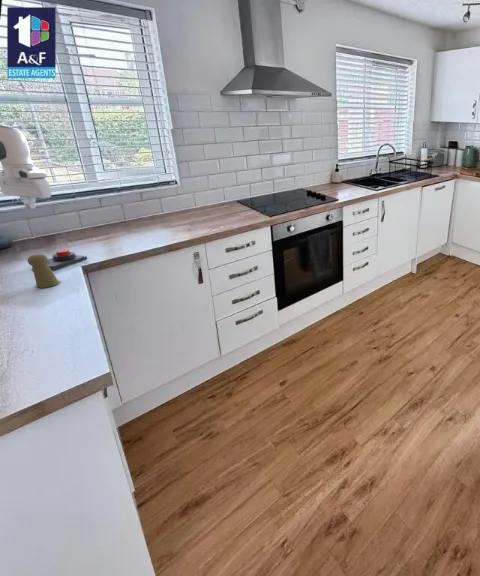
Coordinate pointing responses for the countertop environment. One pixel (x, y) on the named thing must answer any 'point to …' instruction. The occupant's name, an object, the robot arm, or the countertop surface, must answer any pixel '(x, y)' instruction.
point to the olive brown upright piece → (42, 271)
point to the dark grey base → (64, 260)
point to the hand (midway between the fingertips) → (30, 208)
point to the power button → (62, 252)
